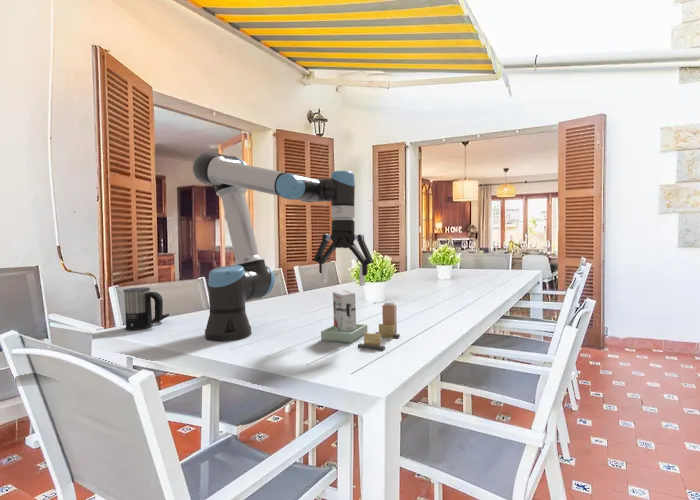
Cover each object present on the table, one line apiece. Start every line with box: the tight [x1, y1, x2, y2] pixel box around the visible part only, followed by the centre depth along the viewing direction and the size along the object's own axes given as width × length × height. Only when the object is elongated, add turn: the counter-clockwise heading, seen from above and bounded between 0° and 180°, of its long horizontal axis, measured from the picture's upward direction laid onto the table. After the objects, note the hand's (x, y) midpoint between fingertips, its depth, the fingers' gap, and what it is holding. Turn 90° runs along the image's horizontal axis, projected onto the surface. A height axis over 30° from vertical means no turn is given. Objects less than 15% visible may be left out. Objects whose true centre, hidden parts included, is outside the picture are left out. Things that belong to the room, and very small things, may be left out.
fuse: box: [381, 301, 398, 334], centre depth 142 cm, size 4×3×11 cm, turn 66°
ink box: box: [332, 290, 357, 331], centre depth 140 cm, size 8×5×12 cm, turn 23°
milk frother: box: [122, 286, 170, 331], centre depth 163 cm, size 14×16×15 cm
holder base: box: [357, 331, 401, 351], centre depth 133 cm, size 8×16×1 cm, turn 156°
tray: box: [320, 323, 368, 344], centre depth 140 cm, size 11×14×3 cm
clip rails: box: [363, 323, 395, 345], centre depth 133 cm, size 5×14×4 cm, turn 156°
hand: (342, 284), depth 140 cm, fingers open, 13 cm apart
